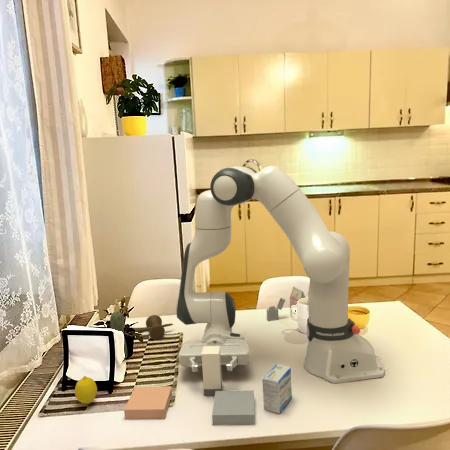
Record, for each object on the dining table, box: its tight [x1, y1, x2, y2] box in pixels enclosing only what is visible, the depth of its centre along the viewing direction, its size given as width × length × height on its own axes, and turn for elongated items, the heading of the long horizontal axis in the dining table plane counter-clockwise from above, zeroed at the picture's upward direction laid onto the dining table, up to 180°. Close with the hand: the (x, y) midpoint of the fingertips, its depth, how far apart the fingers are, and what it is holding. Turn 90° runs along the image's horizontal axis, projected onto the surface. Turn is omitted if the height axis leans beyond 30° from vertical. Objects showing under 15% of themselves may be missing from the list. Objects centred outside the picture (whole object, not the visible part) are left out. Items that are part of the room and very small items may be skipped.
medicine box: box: [261, 363, 293, 415], centre depth 105 cm, size 8×4×9 cm, turn 148°
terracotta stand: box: [123, 385, 173, 420], centre depth 107 cm, size 10×10×2 cm
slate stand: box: [211, 389, 256, 426], centre depth 103 cm, size 10×10×2 cm
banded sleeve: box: [201, 346, 224, 397], centre depth 111 cm, size 5×5×12 cm
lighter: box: [266, 297, 286, 322], centre depth 157 cm, size 7×2×8 cm, turn 105°
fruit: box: [74, 375, 98, 405], centre depth 109 cm, size 6×6×8 cm
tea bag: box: [289, 286, 307, 312], centre depth 161 cm, size 4×7×10 cm, turn 21°
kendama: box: [130, 314, 174, 341], centre depth 148 cm, size 6×10×20 cm
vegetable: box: [109, 298, 128, 357], centre depth 130 cm, size 4×4×20 cm
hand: (212, 368), depth 111 cm, fingers open, 8 cm apart
